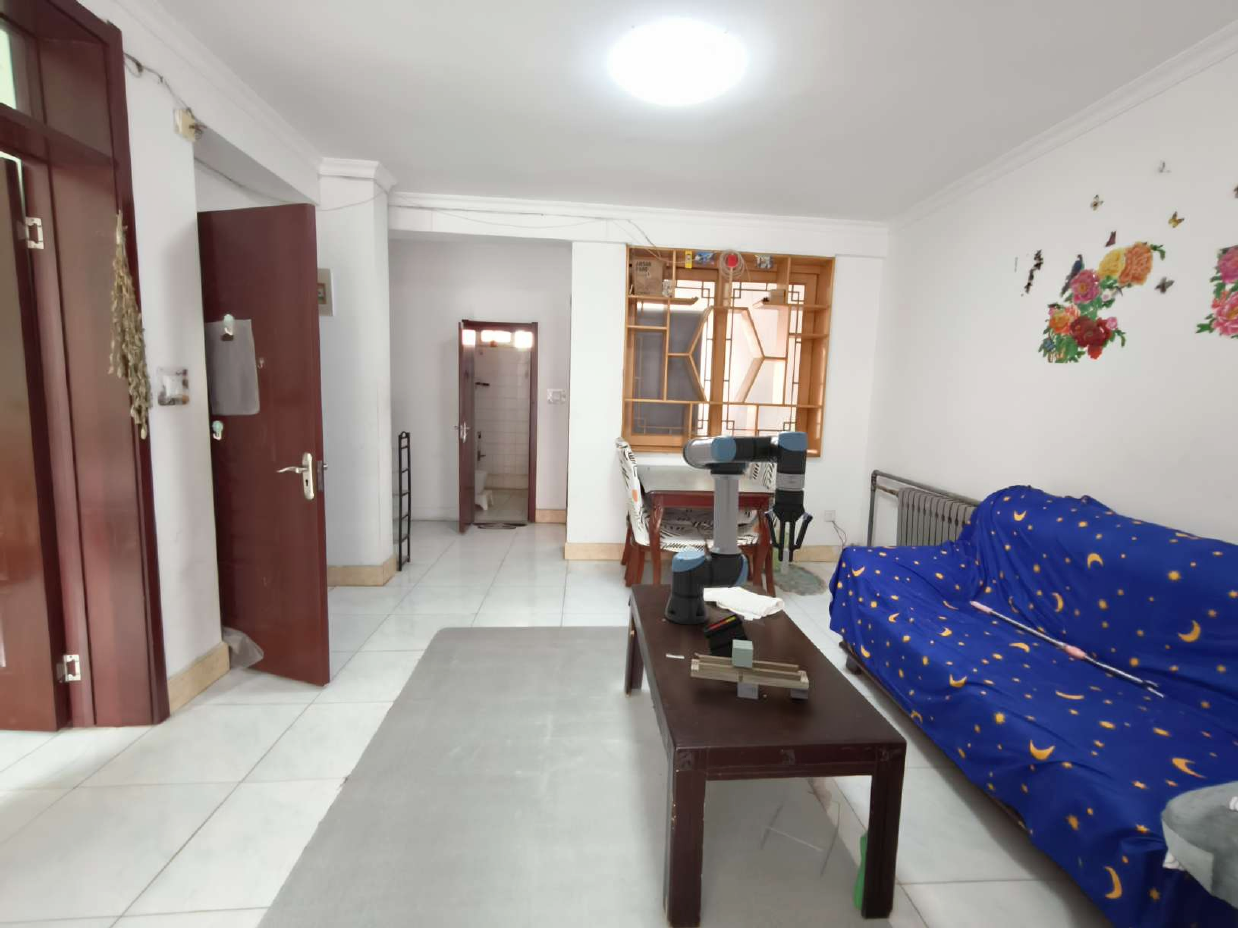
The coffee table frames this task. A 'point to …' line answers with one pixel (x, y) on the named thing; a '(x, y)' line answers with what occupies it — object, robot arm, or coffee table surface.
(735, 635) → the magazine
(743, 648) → the block
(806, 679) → the beam
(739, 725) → the coffee table surface
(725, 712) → the coffee table surface
